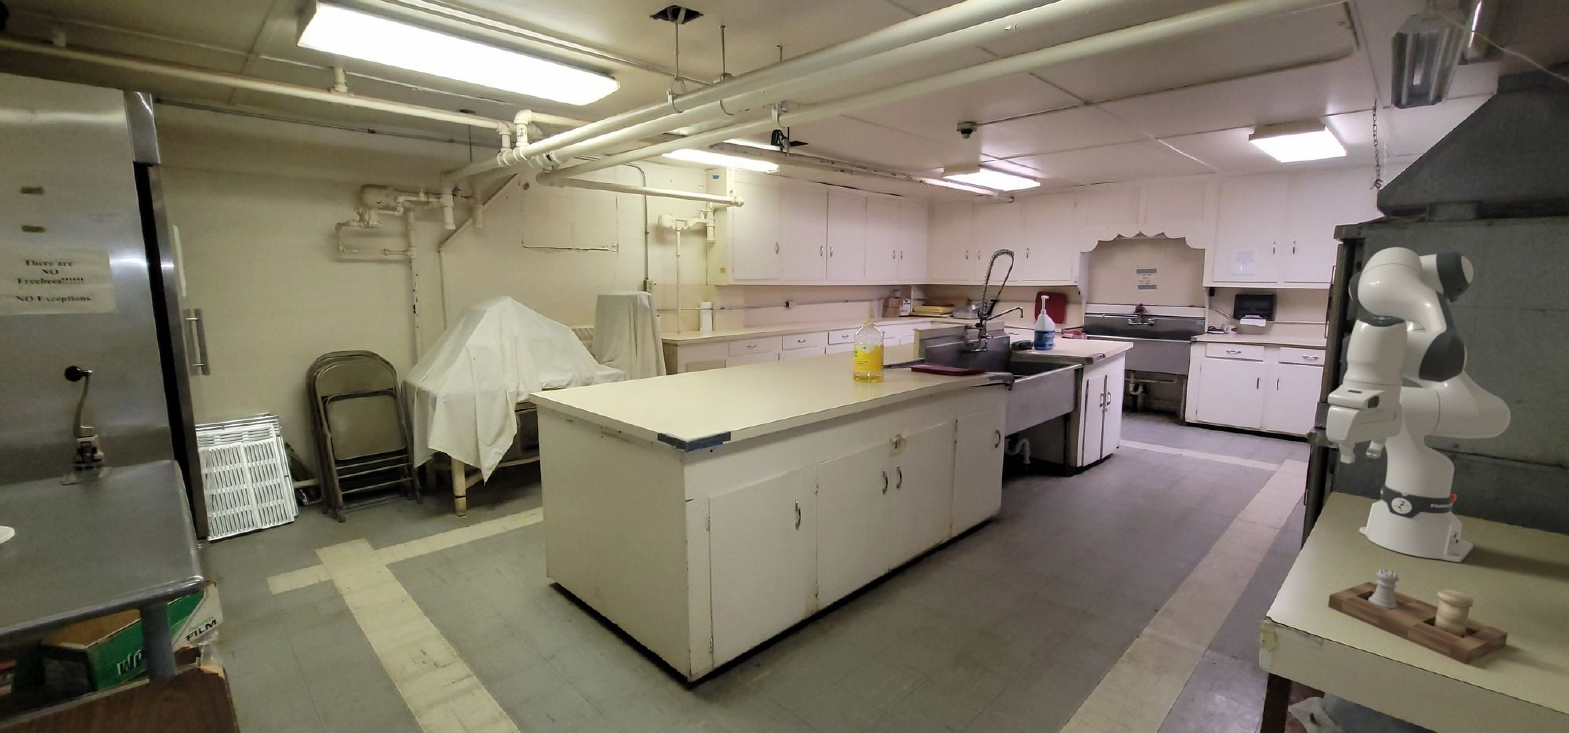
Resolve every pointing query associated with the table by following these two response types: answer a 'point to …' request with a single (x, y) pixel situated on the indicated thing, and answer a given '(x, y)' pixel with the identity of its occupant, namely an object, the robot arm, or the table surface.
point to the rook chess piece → (1385, 589)
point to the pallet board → (1425, 621)
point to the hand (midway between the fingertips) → (1360, 460)
